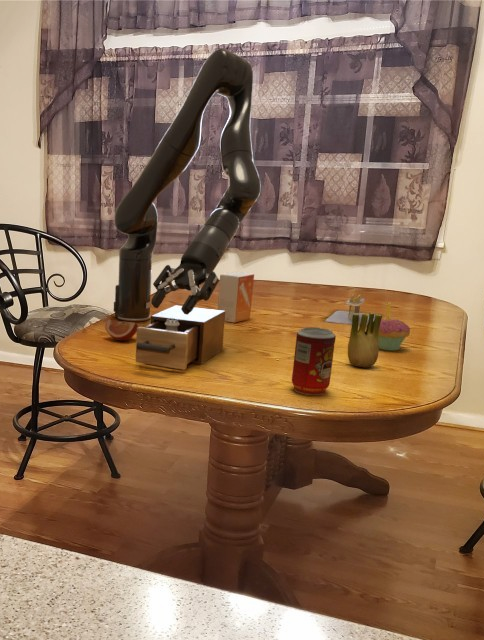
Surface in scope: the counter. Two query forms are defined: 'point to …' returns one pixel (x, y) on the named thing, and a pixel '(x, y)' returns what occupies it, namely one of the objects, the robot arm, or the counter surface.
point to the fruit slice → (121, 329)
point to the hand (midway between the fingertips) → (168, 308)
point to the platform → (347, 316)
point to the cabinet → (209, 328)
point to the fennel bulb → (364, 340)
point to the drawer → (167, 345)
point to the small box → (236, 296)
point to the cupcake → (392, 332)
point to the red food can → (313, 360)
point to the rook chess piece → (172, 324)
